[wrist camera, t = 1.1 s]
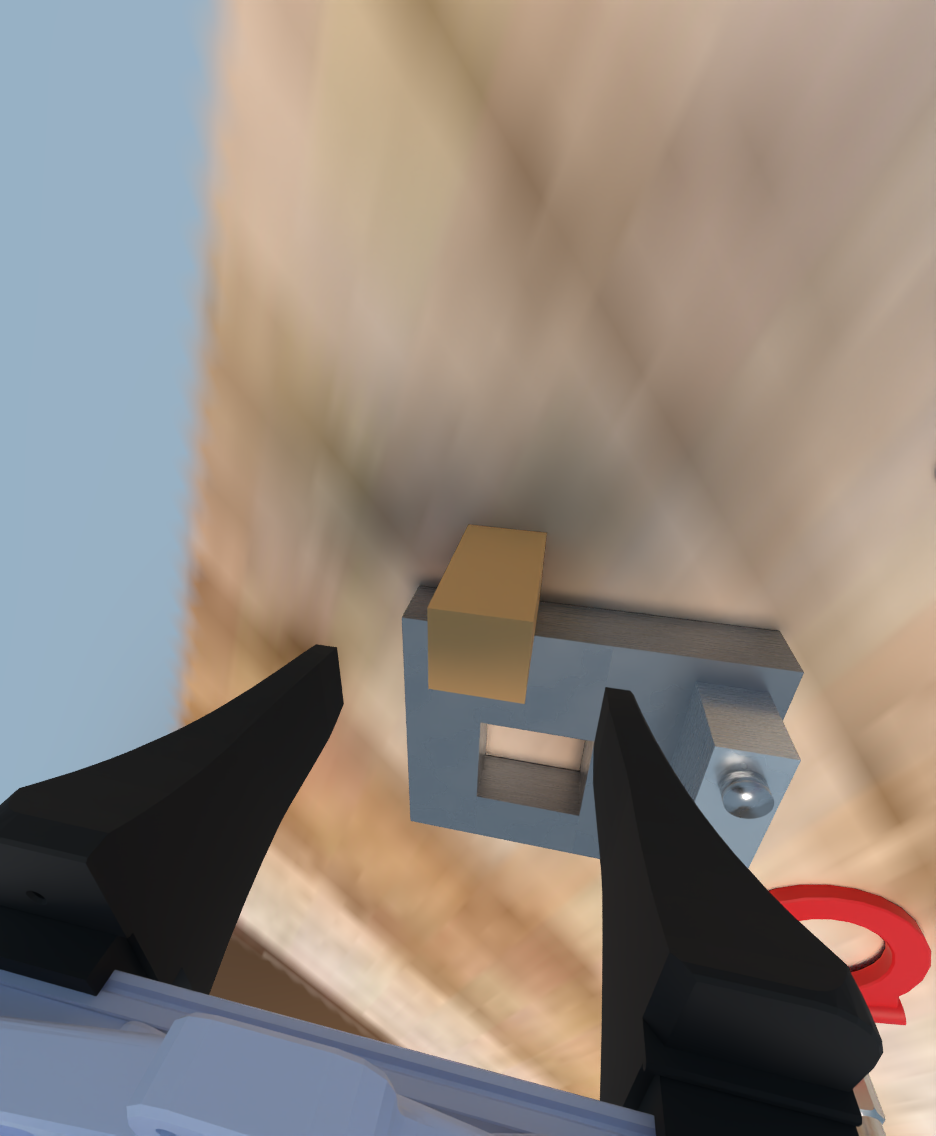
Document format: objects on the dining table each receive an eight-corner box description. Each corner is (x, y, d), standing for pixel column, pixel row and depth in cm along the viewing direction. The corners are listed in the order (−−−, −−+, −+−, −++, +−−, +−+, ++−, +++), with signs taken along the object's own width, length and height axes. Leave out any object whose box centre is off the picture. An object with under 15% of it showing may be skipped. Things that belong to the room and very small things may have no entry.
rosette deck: (780, 631, 19) (853, 757, 14) (701, 832, 25) (732, 974, 20) (419, 585, 21) (366, 680, 16) (423, 780, 27) (386, 895, 22)
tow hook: (716, 872, 27) (729, 985, 31) (827, 1334, 15) (827, 1429, 18) (923, 875, 24) (911, 998, 28) (1271, 1443, 12) (1168, 1529, 16)
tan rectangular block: (546, 532, 19) (533, 622, 14) (539, 600, 21) (524, 704, 15) (468, 524, 20) (427, 607, 14) (466, 591, 21) (428, 688, 16)
